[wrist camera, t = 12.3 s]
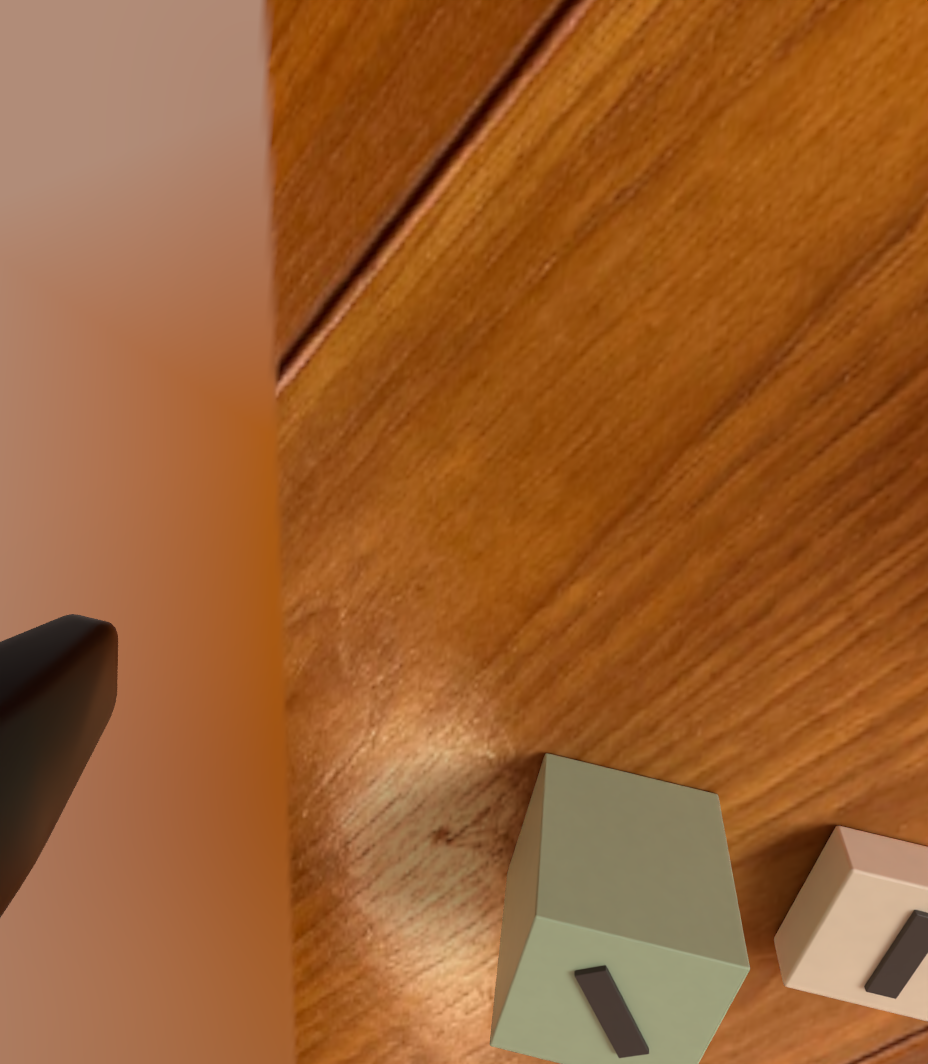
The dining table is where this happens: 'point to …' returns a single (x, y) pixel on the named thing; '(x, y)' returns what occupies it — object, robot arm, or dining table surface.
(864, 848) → the beige letter tiles
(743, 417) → the dining table surface
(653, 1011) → the green letter i block
